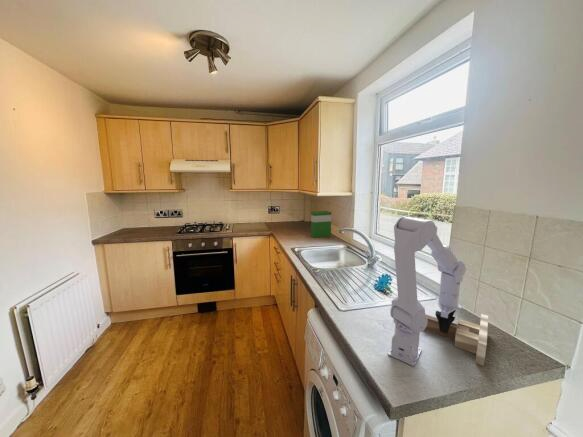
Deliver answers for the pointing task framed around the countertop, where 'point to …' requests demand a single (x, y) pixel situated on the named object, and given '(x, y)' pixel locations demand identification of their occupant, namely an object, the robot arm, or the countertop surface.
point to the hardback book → (320, 224)
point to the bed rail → (434, 327)
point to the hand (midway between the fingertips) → (445, 327)
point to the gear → (383, 282)
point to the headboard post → (473, 338)
